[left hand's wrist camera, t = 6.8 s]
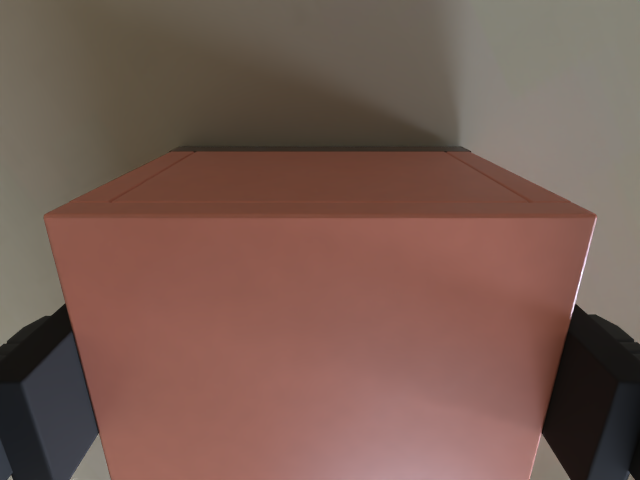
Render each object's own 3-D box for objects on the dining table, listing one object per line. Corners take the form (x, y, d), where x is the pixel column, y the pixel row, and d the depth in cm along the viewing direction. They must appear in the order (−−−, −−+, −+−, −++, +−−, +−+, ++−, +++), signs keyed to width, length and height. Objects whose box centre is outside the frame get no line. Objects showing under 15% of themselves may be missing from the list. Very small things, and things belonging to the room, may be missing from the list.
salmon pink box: (414, 530, 22) (460, 752, 15) (226, 530, 22) (180, 752, 15) (461, 146, 15) (601, 213, 7) (178, 146, 15) (39, 214, 7)
